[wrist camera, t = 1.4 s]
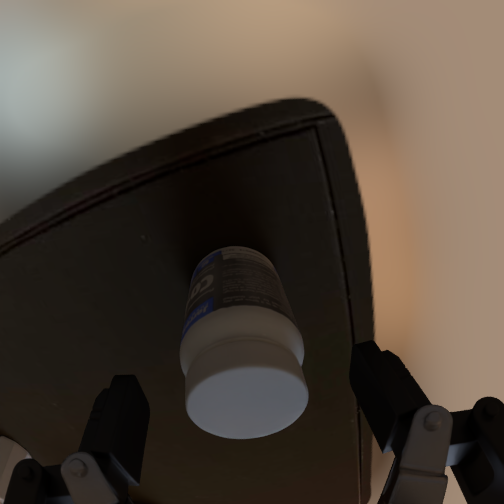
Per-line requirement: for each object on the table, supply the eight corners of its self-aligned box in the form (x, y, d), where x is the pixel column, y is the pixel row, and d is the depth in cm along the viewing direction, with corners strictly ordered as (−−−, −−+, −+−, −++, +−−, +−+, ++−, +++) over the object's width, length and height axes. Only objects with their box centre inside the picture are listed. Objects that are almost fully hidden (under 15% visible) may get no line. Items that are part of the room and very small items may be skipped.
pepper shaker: (-3, 429, 21) (-32, 495, 11) (34, 452, 23) (11, 522, 13) (-2, 443, 22) (-26, 503, 12) (31, 464, 24) (12, 526, 14)
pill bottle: (196, 237, 15) (176, 343, 8) (287, 251, 16) (342, 358, 8) (186, 315, 17) (171, 439, 9) (266, 326, 18) (296, 446, 10)
